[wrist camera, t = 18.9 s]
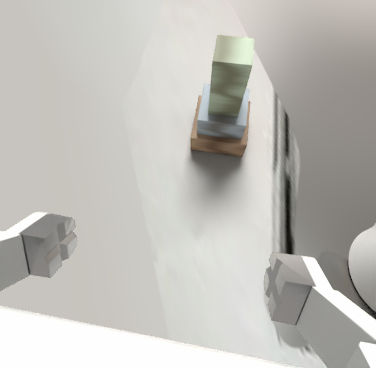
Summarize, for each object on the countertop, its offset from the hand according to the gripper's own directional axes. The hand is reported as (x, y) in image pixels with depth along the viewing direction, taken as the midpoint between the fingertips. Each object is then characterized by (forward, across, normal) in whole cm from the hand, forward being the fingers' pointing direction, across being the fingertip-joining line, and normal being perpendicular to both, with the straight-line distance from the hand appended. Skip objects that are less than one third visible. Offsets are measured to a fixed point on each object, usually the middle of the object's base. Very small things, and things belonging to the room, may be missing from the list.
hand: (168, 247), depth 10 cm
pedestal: (+40, -2, +1) cm, 40 cm away
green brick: (+34, -2, -4) cm, 35 cm away
